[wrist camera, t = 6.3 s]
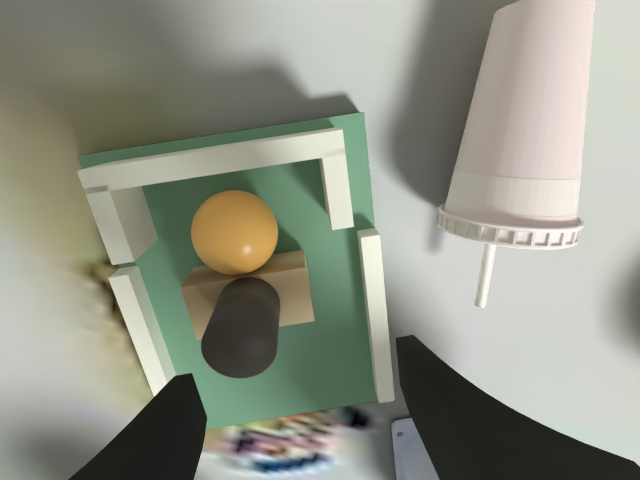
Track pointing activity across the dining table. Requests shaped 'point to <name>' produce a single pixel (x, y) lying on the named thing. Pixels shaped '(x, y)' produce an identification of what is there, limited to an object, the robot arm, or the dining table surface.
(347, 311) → the pitch
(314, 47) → the dining table surface
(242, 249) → the ball
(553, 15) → the smoothie
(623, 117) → the dining table surface
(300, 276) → the striker
